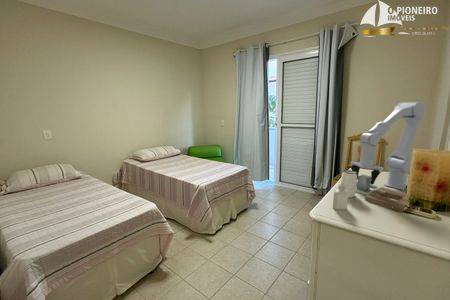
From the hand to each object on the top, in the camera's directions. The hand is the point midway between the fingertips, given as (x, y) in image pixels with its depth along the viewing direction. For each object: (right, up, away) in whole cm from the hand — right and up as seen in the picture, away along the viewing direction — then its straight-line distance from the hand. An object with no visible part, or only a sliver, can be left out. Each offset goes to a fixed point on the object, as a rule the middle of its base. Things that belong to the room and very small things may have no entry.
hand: (363, 181), depth 108 cm
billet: (0, -4, +1) cm, 4 cm away
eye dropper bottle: (-23, -9, -18) cm, 30 cm away
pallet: (+4, -7, -12) cm, 15 cm away
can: (-12, -6, -6) cm, 15 cm away
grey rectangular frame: (0, -4, +1) cm, 4 cm away
